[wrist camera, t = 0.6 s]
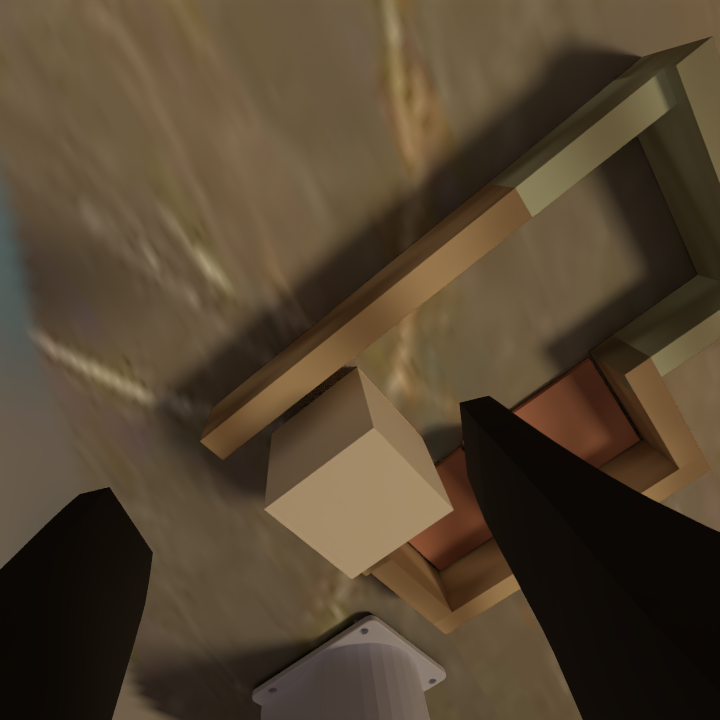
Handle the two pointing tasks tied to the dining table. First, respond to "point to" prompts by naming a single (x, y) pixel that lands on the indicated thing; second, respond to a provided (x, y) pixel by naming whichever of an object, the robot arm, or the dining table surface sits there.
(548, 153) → the trap lane
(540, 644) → the dining table surface
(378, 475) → the ivory block
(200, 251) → the dining table surface
